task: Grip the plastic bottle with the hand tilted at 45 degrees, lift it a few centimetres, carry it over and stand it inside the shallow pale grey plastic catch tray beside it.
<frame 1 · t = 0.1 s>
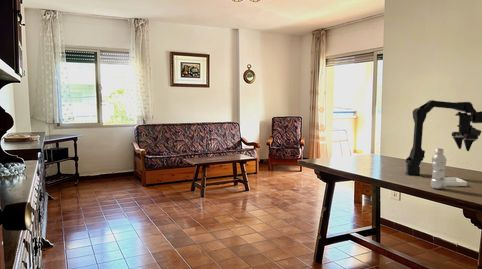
hand: (463, 149, 204), 15 cm above the table, tool pointing down, fingers open, 9 cm apart
plastic bottle: (438, 188, 174), on the table
catch tray: (449, 184, 183), on the table
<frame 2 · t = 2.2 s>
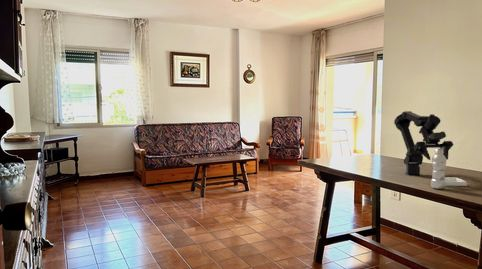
hand: (438, 159, 181), 13 cm above the table, tool tilted 40°, fingers open, 9 cm apart
nothing on the table moved.
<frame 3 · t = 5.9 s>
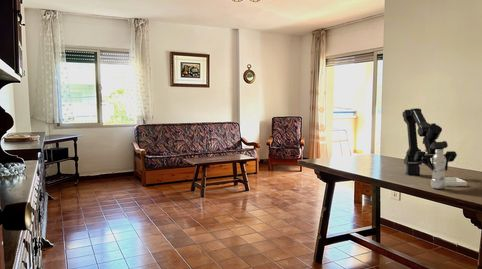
hand: (439, 170, 172), 10 cm above the table, tool tilted 45°, fingers closed on plastic bottle, 6 cm apart
plastic bottle: (438, 188, 174), on the table, touching gripper
when the fingers open (11 cm above the table, at t = 10.0 s): plastic bottle stays where it is, resting on catch tray.
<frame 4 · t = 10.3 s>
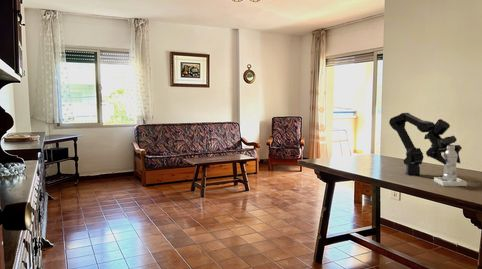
hand: (452, 163, 181), 11 cm above the table, tool tilted 45°, fingers open, 9 cm apart
plastic bottle: (449, 183, 183), resting on catch tray
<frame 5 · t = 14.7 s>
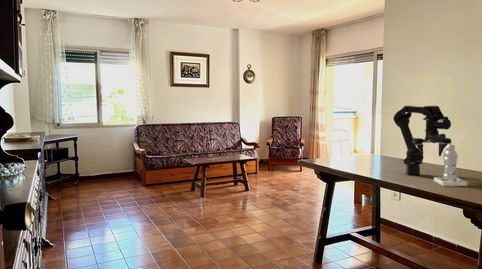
hand: (430, 156, 194), 13 cm above the table, tool pointing down, fingers open, 9 cm apart
nothing on the table moved.
at the end: plastic bottle 0.2 cm off-centre on the catch tray, point 0.4 cm above the catch tray's base; plastic bottle tilted 0°; the gripper is holding nothing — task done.
